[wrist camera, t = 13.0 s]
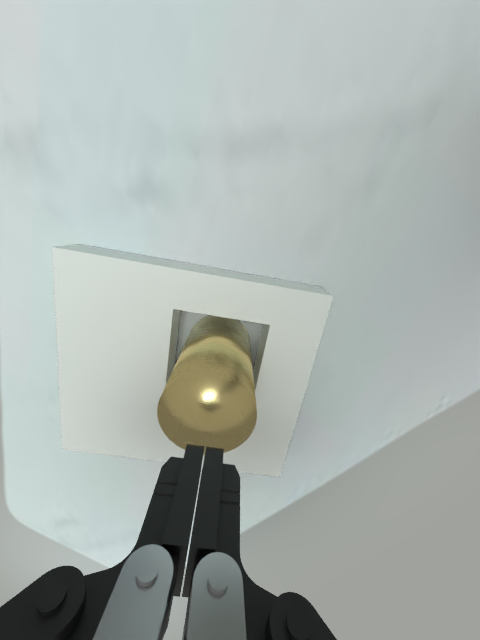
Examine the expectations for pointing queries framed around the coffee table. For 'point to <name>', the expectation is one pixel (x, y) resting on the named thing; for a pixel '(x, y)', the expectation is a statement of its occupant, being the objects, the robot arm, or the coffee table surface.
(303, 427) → the coffee table surface
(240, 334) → the gold metal peg
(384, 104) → the coffee table surface
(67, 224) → the coffee table surface
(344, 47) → the coffee table surface
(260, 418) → the jig
